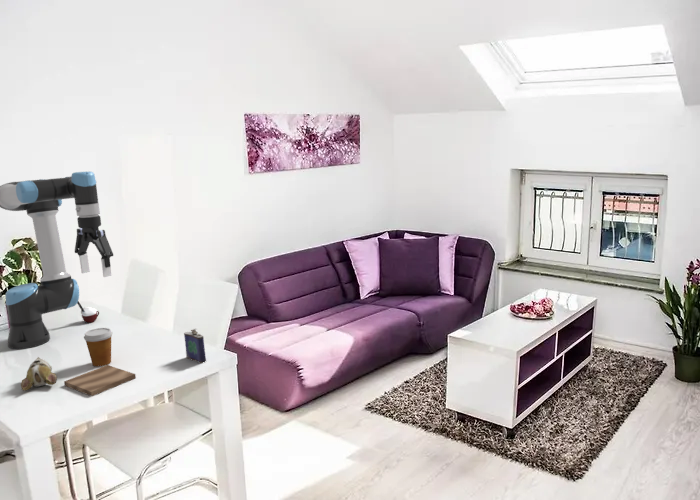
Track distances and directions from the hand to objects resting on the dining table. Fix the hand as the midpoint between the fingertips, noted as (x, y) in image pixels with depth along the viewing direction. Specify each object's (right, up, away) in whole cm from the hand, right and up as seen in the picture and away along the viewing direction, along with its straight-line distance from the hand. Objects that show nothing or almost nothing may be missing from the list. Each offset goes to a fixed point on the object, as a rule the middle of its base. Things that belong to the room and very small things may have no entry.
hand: (96, 274), depth 215 cm
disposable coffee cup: (+1, -32, +1) cm, 32 cm away
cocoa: (-25, -23, +51) cm, 62 cm away
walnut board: (+8, -35, -15) cm, 39 cm away
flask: (+36, -31, +1) cm, 47 cm away
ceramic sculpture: (-12, -36, -15) cm, 41 cm away
